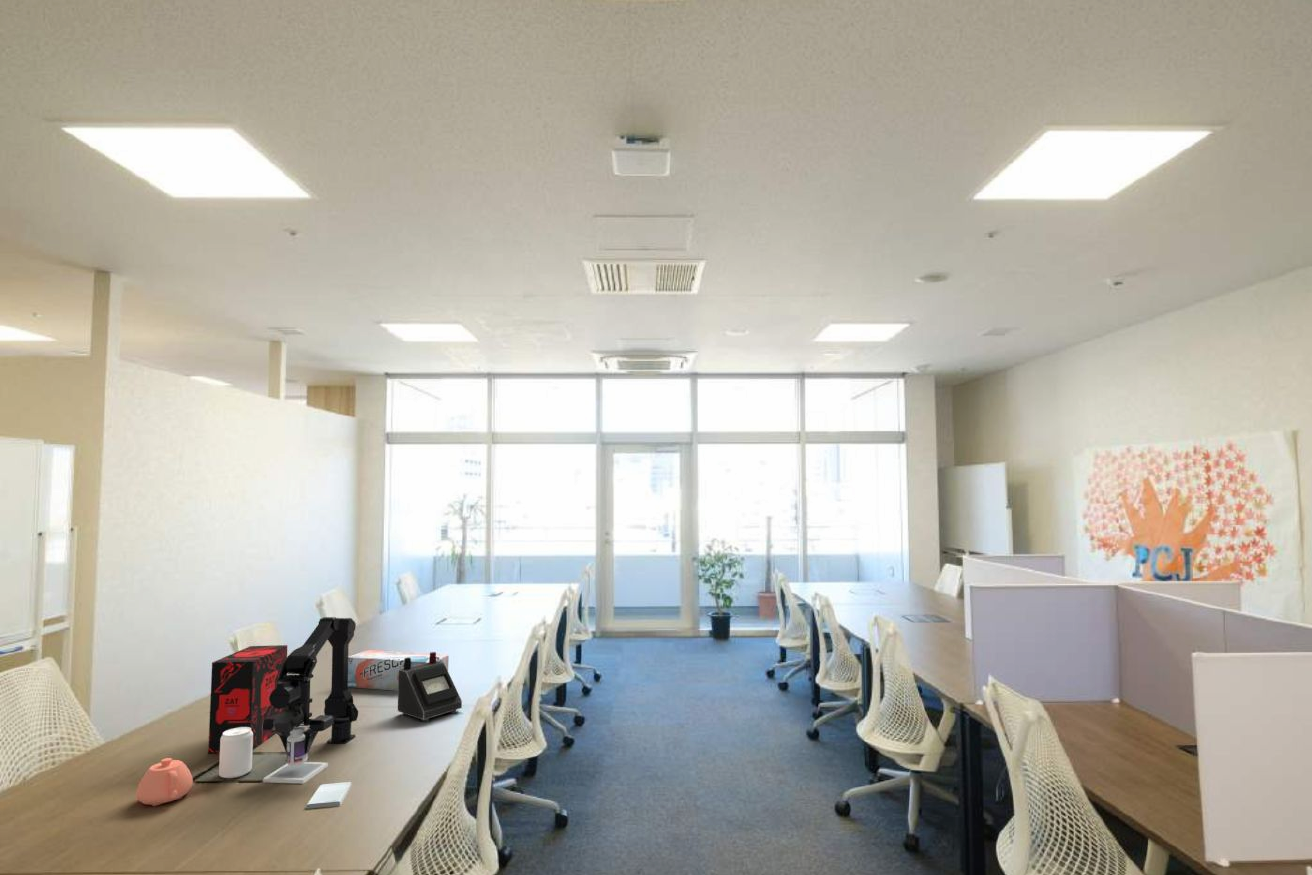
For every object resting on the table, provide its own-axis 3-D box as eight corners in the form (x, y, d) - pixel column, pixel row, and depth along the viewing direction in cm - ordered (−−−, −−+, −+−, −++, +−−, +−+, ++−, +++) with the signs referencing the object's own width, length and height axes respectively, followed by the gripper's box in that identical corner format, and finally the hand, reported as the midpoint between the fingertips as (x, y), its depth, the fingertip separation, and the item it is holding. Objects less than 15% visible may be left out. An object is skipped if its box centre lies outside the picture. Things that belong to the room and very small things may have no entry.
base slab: (289, 765, 202) (289, 761, 202) (327, 766, 201) (328, 762, 201) (262, 782, 190) (263, 778, 190) (303, 783, 189) (303, 779, 189)
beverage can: (214, 781, 191) (216, 737, 192) (224, 769, 199) (226, 727, 200) (246, 777, 194) (248, 734, 195) (255, 766, 201) (256, 725, 202)
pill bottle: (310, 757, 199) (311, 723, 200) (301, 765, 194) (302, 730, 194) (292, 758, 199) (293, 724, 199) (282, 765, 193) (283, 730, 194)
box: (249, 752, 213) (252, 661, 215) (208, 754, 212) (212, 662, 214) (284, 727, 236) (287, 645, 238) (247, 728, 235) (250, 645, 237)
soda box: (343, 688, 283) (344, 656, 284) (365, 679, 296) (365, 649, 297) (431, 694, 274) (432, 661, 275) (449, 684, 287) (450, 653, 288)
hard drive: (340, 801, 176) (351, 781, 188) (306, 804, 174) (319, 783, 186) (340, 807, 176) (351, 787, 188) (305, 811, 174) (319, 790, 186)
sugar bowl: (183, 784, 189) (185, 747, 190) (201, 798, 180) (202, 759, 181) (129, 800, 180) (131, 760, 181) (145, 816, 171) (147, 774, 172)
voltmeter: (423, 724, 238) (425, 665, 239) (397, 715, 248) (398, 659, 249) (462, 712, 250) (462, 656, 252) (435, 703, 260) (436, 650, 262)
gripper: (249, 705, 190) (247, 763, 189) (312, 707, 189) (311, 764, 188) (275, 693, 201) (273, 747, 200) (335, 695, 200) (333, 749, 199)
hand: (297, 752), depth 196 cm, fingers closed on pill bottle, 5 cm apart
